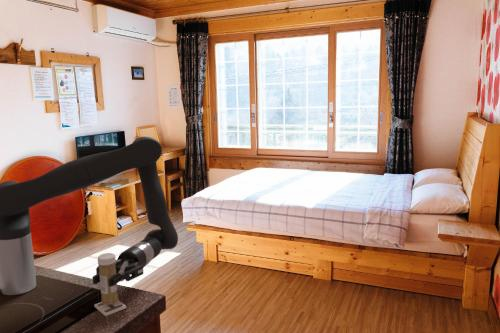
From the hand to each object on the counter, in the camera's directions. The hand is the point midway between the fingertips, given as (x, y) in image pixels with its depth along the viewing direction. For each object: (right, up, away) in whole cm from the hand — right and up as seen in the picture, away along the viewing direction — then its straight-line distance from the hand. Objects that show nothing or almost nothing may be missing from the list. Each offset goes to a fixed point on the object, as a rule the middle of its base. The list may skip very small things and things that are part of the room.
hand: (102, 282), depth 107 cm
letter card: (+1, -8, +4) cm, 9 cm away
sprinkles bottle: (+1, -7, +4) cm, 8 cm away
